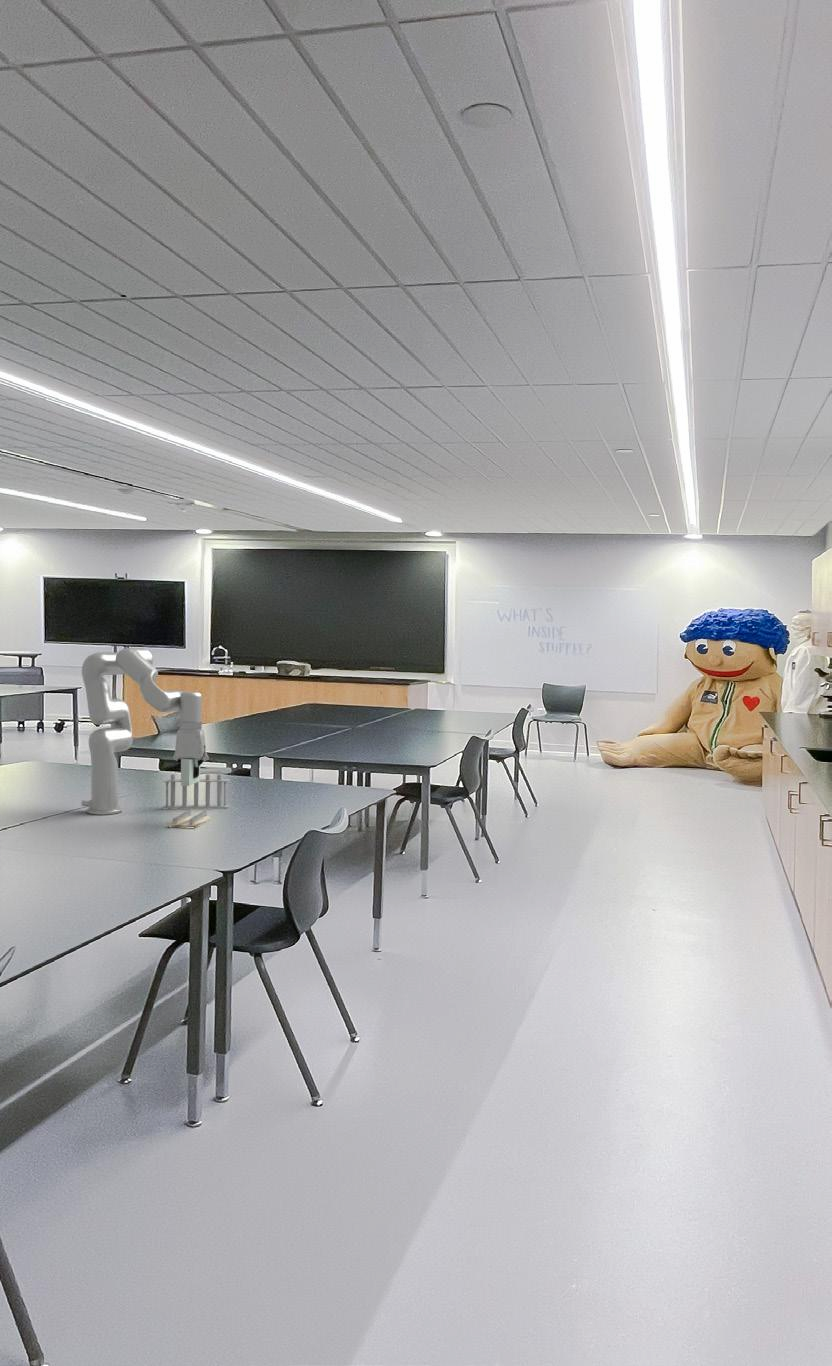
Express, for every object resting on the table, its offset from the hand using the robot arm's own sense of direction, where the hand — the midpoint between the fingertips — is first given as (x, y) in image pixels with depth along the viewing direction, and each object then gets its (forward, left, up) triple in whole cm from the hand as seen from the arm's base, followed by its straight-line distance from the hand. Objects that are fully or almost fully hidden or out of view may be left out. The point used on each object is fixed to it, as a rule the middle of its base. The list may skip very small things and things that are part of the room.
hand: (190, 777), depth 354 cm
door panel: (0, 0, -2) cm, 2 cm away
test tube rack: (-8, +30, -17) cm, 35 cm away
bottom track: (0, 0, -17) cm, 17 cm away
